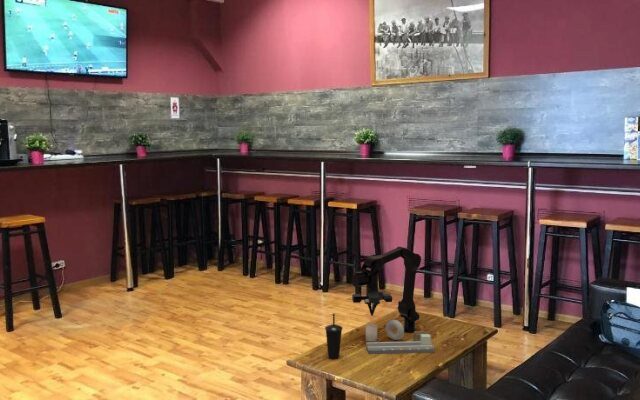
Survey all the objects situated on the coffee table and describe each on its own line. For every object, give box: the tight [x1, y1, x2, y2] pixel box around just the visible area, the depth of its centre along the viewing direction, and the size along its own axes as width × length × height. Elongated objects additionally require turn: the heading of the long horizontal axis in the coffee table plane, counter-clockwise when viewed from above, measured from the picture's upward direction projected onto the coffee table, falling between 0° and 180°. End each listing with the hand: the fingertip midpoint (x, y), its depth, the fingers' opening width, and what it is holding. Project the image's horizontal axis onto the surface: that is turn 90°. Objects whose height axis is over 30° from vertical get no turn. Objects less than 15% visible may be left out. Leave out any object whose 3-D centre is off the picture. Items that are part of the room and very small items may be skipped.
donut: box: [384, 319, 405, 341], centre depth 286 cm, size 10×4×10 cm, turn 50°
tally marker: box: [420, 333, 432, 346], centre depth 274 cm, size 4×4×5 cm
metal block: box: [413, 330, 427, 342], centre depth 285 cm, size 5×5×4 cm
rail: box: [365, 341, 435, 355], centre depth 273 cm, size 8×30×3 cm, turn 93°
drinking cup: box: [324, 313, 343, 360], centre depth 264 cm, size 8×8×20 cm
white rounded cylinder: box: [365, 323, 378, 343], centre depth 286 cm, size 6×6×7 cm
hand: (371, 315), depth 285 cm, fingers closed
